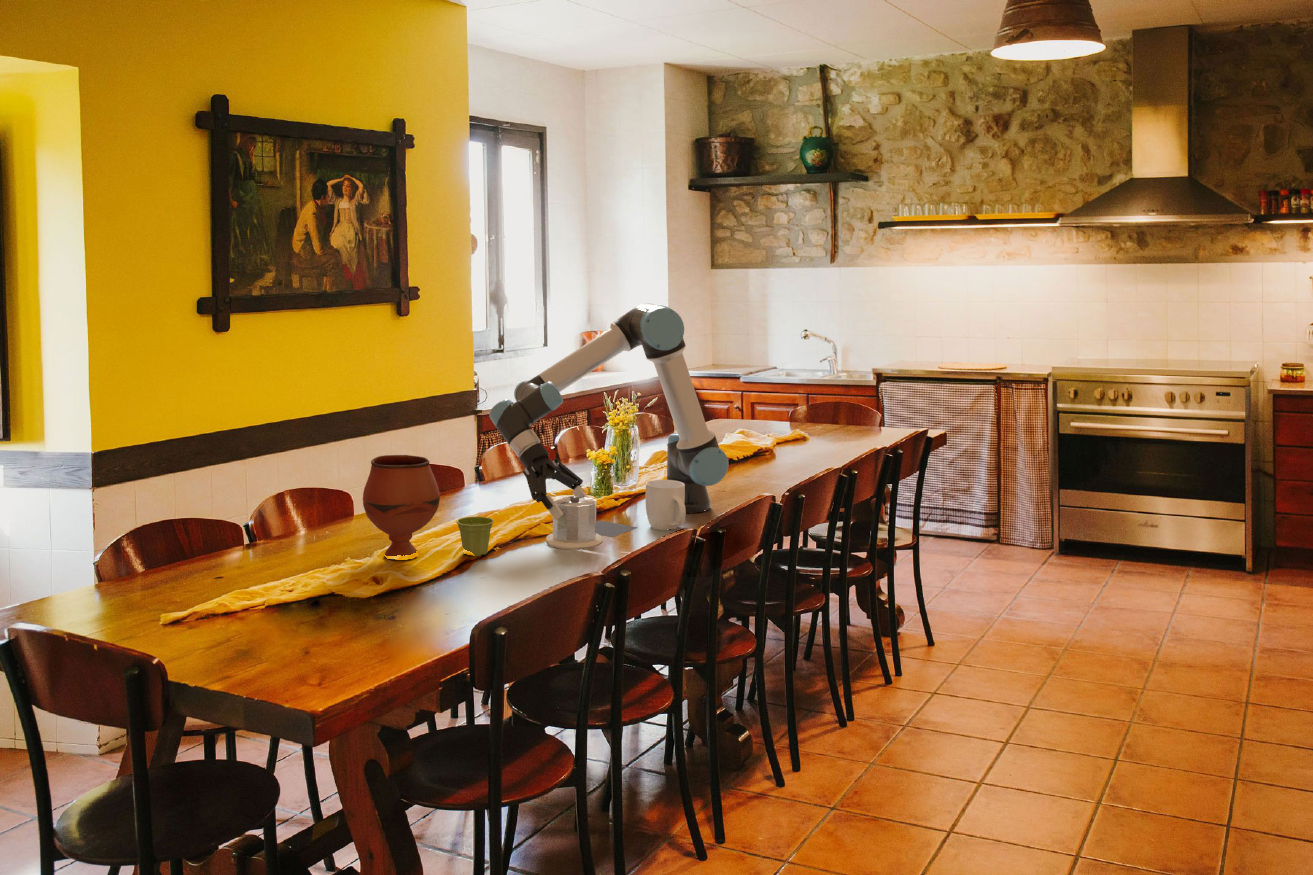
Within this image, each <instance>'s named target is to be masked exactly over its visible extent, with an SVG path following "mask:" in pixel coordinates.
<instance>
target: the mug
mask: <svg viewBox="0 0 1313 875" xmlns="http://www.w3.org/2000/svg"><path fill="white" fill-rule="evenodd" d="M684 502H685V484H684V483H682V482H679V481H674V480H667V479H655V480H654V479H653V480H649V481H646V483H645V512H646V516H647V521H648V523H649V525H650V527H651V528H652V529H654V530H657V529H662V530H661V531H670V530H669V529H674V530H677V529H678V528H679V527H680V526H682V525H683V524H684V523H685V521H686V517H687V513H686V509H685V505H684ZM667 529H668V530H667Z"/></svg>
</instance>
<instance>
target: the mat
mask: <svg viewBox="0 0 1313 875" xmlns="http://www.w3.org/2000/svg"><path fill="white" fill-rule="evenodd" d="M636 529H638V526H632V525H626V524H622V523H615V522H611V521H604V520H598V521H597V520H596V534H599V535H601V536H602V537H603V536H604V537H609V538H614V537H617V536H619V535H622V534H625V533H627V532H631V531H633V530H636Z"/></svg>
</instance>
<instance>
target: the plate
mask: <svg viewBox="0 0 1313 875" xmlns="http://www.w3.org/2000/svg"><path fill="white" fill-rule="evenodd" d="M545 538H546V542H545V543H546V545H548V546H550V547H552V548H556V549H561V550H567V551H569V550H570V551H575V550H580V551H581V550H583V548H590V547H595V546H598V545H600V544H601V543H603V541H604V540H603V539H604V538H603V535H599V534H596V538H595V540H593V541H590V542H586V543H564V542H559V541H556V540H554V539H553V532H552V533H550V534H548V535H546V537H545Z"/></svg>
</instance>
